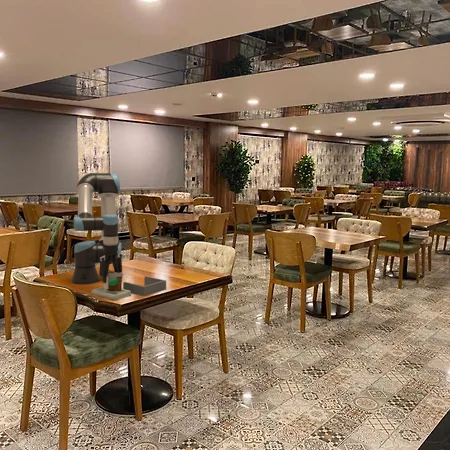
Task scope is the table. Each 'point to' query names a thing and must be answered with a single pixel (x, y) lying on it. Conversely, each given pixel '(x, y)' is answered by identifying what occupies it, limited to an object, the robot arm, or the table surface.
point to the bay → (151, 286)
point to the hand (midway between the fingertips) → (111, 287)
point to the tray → (111, 293)
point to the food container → (114, 281)
